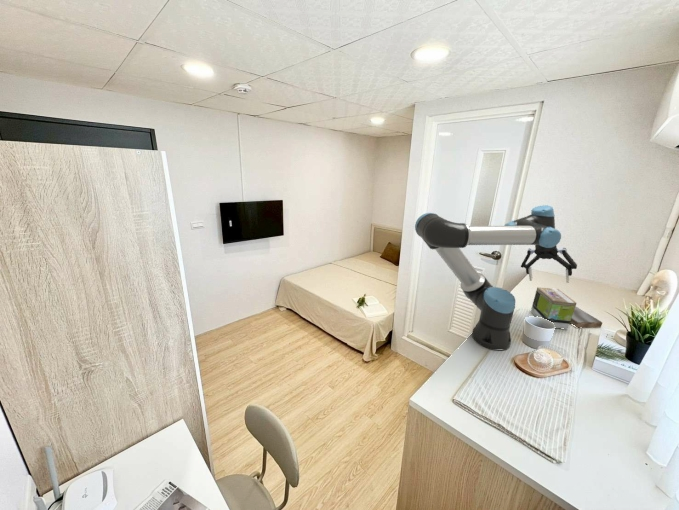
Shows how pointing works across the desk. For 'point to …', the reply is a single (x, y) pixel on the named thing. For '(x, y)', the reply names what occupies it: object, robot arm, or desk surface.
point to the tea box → (553, 306)
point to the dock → (584, 319)
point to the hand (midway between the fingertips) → (548, 280)
